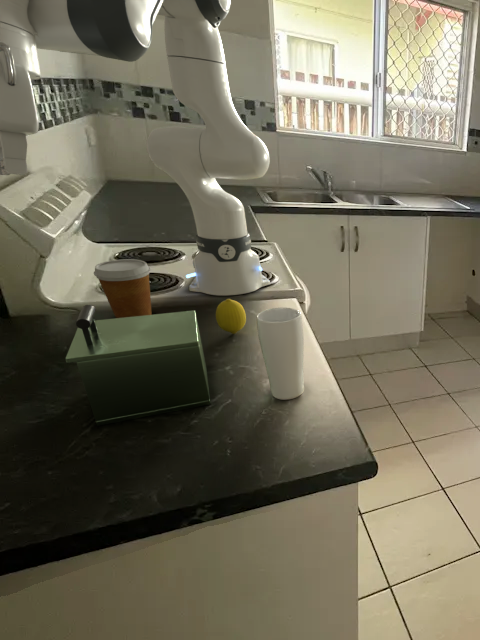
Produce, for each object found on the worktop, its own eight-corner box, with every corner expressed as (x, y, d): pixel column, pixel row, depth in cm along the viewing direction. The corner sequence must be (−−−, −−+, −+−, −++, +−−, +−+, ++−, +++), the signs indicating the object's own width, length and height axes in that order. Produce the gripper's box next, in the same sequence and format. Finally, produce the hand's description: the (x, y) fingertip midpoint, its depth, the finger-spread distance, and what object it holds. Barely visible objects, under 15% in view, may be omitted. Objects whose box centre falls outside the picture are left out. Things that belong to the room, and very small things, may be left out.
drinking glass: (299, 379, 88) (291, 304, 82) (315, 395, 84) (308, 317, 77) (260, 390, 83) (249, 312, 77) (275, 408, 79) (264, 326, 73)
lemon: (236, 340, 99) (230, 305, 96) (212, 336, 100) (206, 301, 97) (254, 331, 104) (249, 296, 101) (231, 326, 105) (226, 292, 102)
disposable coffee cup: (104, 328, 99) (89, 273, 94) (109, 312, 106) (94, 260, 101) (160, 322, 104) (148, 269, 99) (161, 307, 111) (149, 257, 106)
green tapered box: (97, 426, 71) (76, 362, 66) (106, 383, 81) (89, 325, 76) (210, 404, 78) (198, 346, 74) (206, 367, 88) (195, 314, 84)
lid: (66, 363, 66) (56, 331, 64) (81, 326, 76) (72, 297, 74) (198, 345, 74) (193, 316, 72) (195, 314, 84) (190, 288, 82)
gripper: (45, 48, 53) (64, 177, 56) (8, 72, 65) (25, 177, 68) (-39, 28, 48) (-13, 170, 51) (-63, 57, 60) (-41, 172, 63)
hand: (8, 174), depth 60 cm, fingers open, 8 cm apart
